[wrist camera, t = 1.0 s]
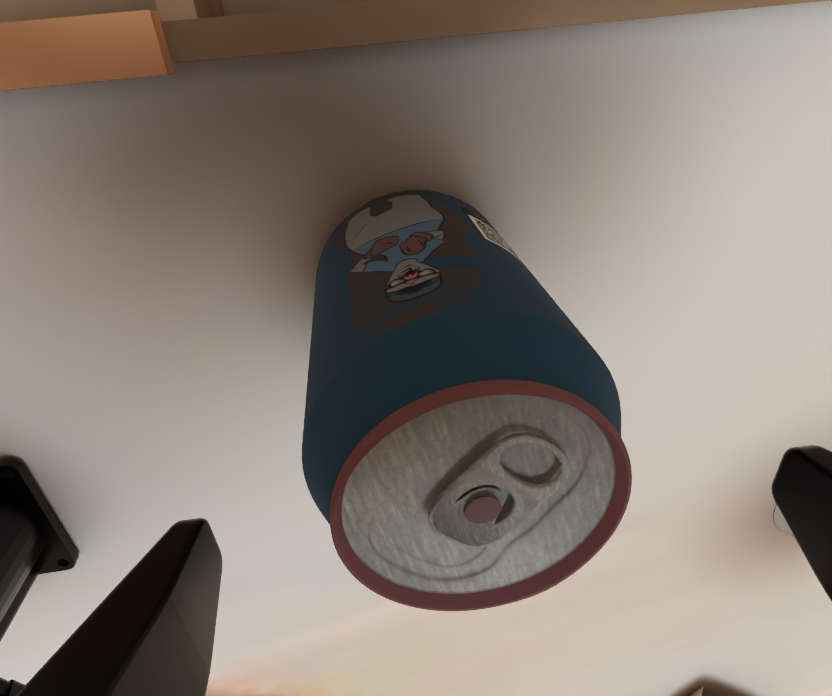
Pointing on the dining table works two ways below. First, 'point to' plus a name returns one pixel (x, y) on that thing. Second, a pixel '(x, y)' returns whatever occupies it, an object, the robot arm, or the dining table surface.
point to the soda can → (454, 413)
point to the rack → (267, 29)
